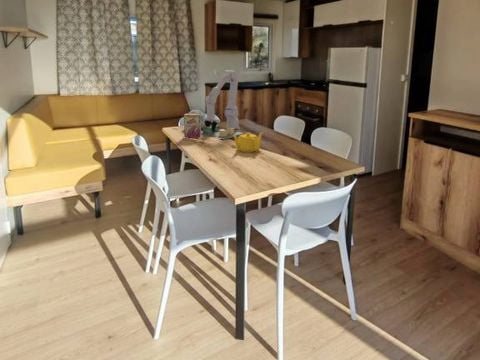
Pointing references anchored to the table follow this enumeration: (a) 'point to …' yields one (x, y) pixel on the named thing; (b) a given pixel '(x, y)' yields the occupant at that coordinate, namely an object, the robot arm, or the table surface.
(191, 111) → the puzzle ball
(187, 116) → the candy bar box
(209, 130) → the beam
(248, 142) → the teapot
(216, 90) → the robot arm
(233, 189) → the table surface
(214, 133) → the board
